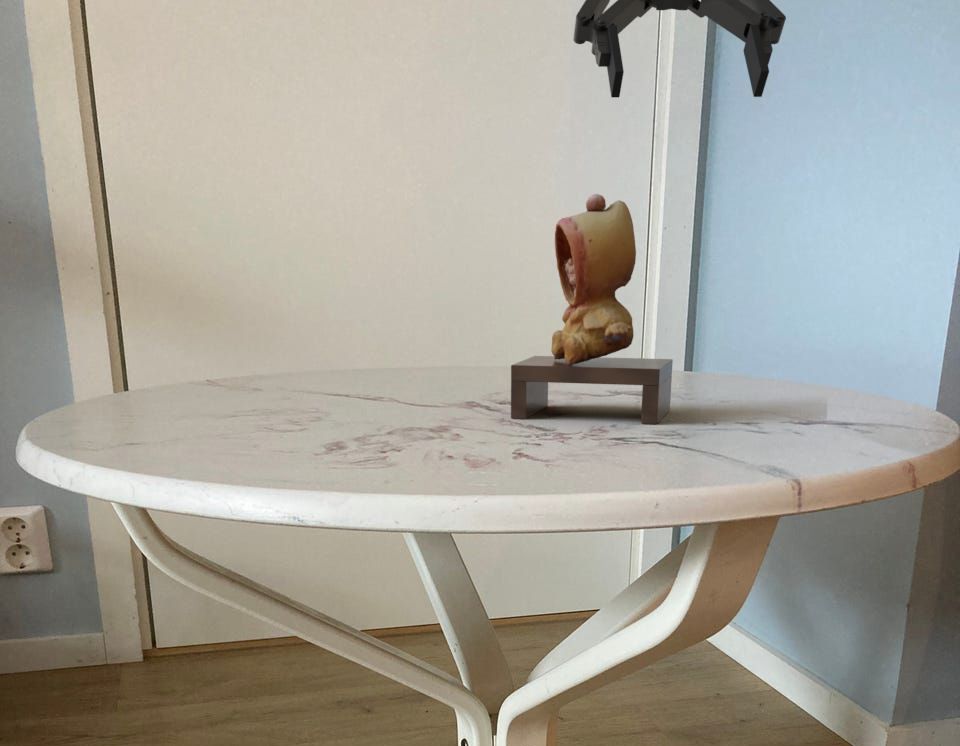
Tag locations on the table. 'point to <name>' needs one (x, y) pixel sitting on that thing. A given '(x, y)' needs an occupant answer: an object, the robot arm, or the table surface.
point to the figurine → (594, 280)
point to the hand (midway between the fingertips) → (689, 84)
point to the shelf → (591, 382)
